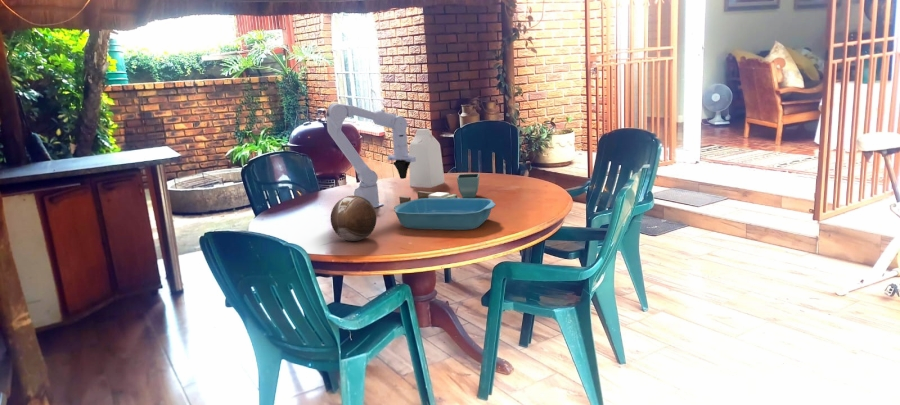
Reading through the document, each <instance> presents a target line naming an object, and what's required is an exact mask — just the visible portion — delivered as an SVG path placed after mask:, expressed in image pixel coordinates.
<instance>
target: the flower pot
mask: <svg viewBox="0 0 900 405" xmlns="http://www.w3.org/2000/svg"><path fill="white" fill-rule="evenodd" d="M456 179H457V188H458V192H459V194H460V197H461V198H476V196H477V193H478V192H479V191H478V190H479V186H480V173H461V174H460V173H459V174H458V175H457V177H456Z"/></svg>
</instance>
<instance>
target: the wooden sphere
mask: <svg viewBox="0 0 900 405" xmlns="http://www.w3.org/2000/svg"><path fill="white" fill-rule="evenodd" d="M330 224H331V225H330V226H331V227H332V229H333V231H334V233H335V234H336V235H337V236H338V237H339V238H342V240H346V241H348V242H358V241H362V240H365V239H366V238H368V237H369V236H370V235H371V234H372V233H373V231H374V230H375V227H376V224H377V212H376V209H375V208H374V207H373V205H372V204H371V203H370V202H369V201H368V200H367V199H365V198H363V197H360V196H354V195H348V196H345V197H343V198H341V199H340V200H338V201H337V202H336V203H335V205H334V206H333V207H332V209H331V214H330Z"/></svg>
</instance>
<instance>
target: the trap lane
mask: <svg viewBox="0 0 900 405" xmlns="http://www.w3.org/2000/svg"><path fill="white" fill-rule="evenodd" d="M416 193H417V199H423V198H428V195H430V194H433V193H434V192H431V191H421V190H420V191H417V192H416ZM398 198H399V204H401V203H405V202H409V201H411V196H405V195H401V196H399V197H398ZM443 198H461V196H460V197H459V196H458V194H455V193H453V194H449V196H446V197H443Z"/></svg>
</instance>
